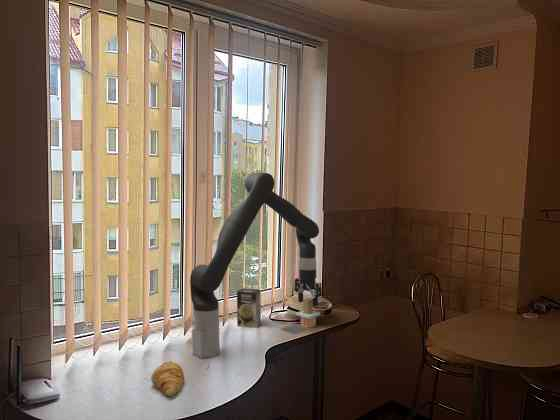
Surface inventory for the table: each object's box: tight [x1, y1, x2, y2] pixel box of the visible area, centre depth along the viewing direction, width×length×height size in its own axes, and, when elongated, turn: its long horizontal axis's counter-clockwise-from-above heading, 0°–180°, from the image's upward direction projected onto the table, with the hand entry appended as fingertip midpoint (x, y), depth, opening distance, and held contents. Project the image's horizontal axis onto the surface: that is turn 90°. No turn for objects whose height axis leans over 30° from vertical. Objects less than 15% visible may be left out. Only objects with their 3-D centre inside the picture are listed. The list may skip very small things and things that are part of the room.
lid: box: [295, 298, 321, 319], centre depth 204 cm, size 8×8×7 cm
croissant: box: [150, 361, 185, 397], centre depth 151 cm, size 21×10×8 cm, turn 19°
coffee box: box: [236, 287, 262, 329], centre depth 205 cm, size 9×6×16 cm
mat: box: [280, 324, 309, 335], centre depth 199 cm, size 9×9×1 cm
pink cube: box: [300, 316, 317, 328], centre depth 205 cm, size 6×6×5 cm
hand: (308, 304), depth 204 cm, fingers open, 8 cm apart
